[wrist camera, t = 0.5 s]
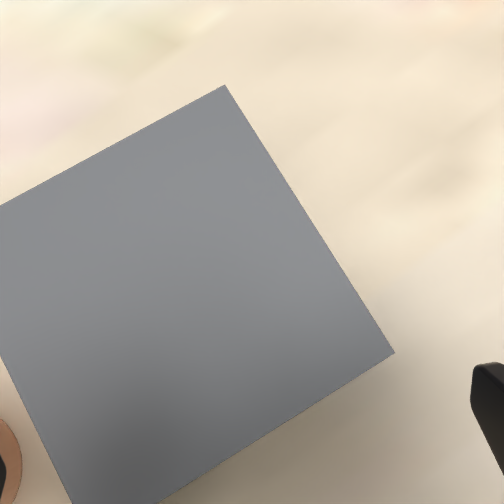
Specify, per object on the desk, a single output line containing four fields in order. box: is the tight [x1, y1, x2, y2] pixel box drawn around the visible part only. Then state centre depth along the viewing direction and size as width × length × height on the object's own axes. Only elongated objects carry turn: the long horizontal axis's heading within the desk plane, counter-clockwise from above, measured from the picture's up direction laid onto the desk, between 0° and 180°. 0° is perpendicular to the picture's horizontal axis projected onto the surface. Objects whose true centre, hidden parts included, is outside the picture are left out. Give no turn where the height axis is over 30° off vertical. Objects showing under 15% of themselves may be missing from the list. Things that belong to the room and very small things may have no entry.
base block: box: [0, 85, 395, 504], centre depth 22 cm, size 15×15×3 cm
